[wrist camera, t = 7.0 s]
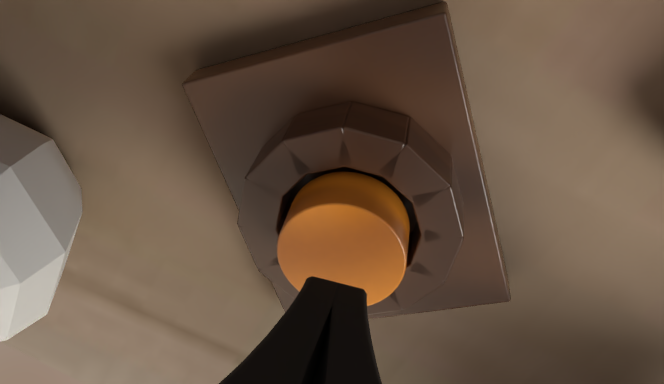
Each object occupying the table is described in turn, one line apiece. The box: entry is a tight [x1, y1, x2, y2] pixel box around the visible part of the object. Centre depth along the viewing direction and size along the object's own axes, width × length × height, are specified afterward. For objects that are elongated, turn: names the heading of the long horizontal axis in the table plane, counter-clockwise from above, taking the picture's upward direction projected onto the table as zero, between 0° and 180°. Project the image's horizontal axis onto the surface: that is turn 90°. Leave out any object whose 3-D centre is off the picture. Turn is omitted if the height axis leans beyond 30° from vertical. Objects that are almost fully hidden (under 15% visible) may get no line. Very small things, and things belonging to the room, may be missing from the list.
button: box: [277, 172, 410, 306], centre depth 17 cm, size 4×4×2 cm
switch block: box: [182, 2, 511, 319], centre depth 19 cm, size 10×8×3 cm
